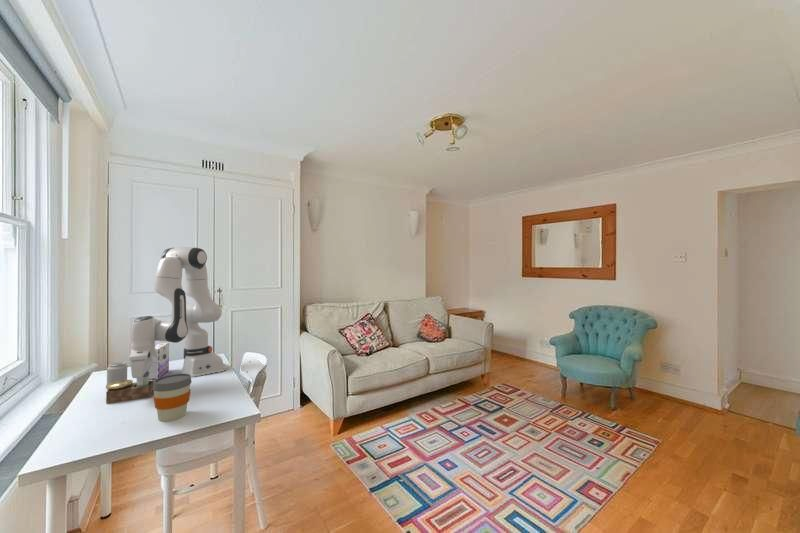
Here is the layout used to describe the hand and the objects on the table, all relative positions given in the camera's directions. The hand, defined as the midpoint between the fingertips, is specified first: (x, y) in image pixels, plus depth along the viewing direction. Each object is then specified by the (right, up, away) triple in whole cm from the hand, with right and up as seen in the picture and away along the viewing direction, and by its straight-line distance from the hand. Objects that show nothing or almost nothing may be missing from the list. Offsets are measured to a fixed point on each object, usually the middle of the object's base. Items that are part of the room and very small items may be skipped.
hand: (142, 381), depth 146 cm
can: (-20, -6, +9) cm, 23 cm away
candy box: (-13, -7, +27) cm, 31 cm away
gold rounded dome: (-7, -5, -4) cm, 10 cm away
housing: (-3, -6, -2) cm, 7 cm away
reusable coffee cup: (+29, -6, -21) cm, 36 cm away
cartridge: (0, -6, 0) cm, 6 cm away
